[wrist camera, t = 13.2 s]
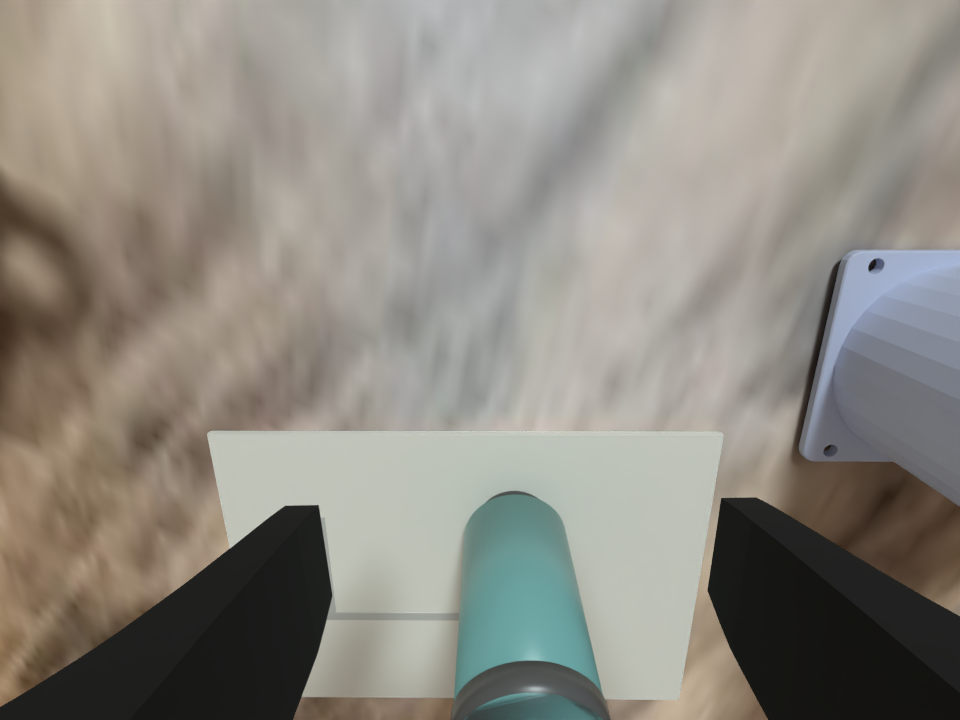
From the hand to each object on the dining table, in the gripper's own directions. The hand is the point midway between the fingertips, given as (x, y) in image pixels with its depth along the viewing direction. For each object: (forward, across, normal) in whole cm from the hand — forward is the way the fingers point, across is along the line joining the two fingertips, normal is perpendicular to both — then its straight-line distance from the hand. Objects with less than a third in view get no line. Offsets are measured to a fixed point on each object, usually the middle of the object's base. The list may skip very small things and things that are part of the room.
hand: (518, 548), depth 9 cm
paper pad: (+10, +2, +10) cm, 14 cm away
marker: (+10, 0, +7) cm, 12 cm away
